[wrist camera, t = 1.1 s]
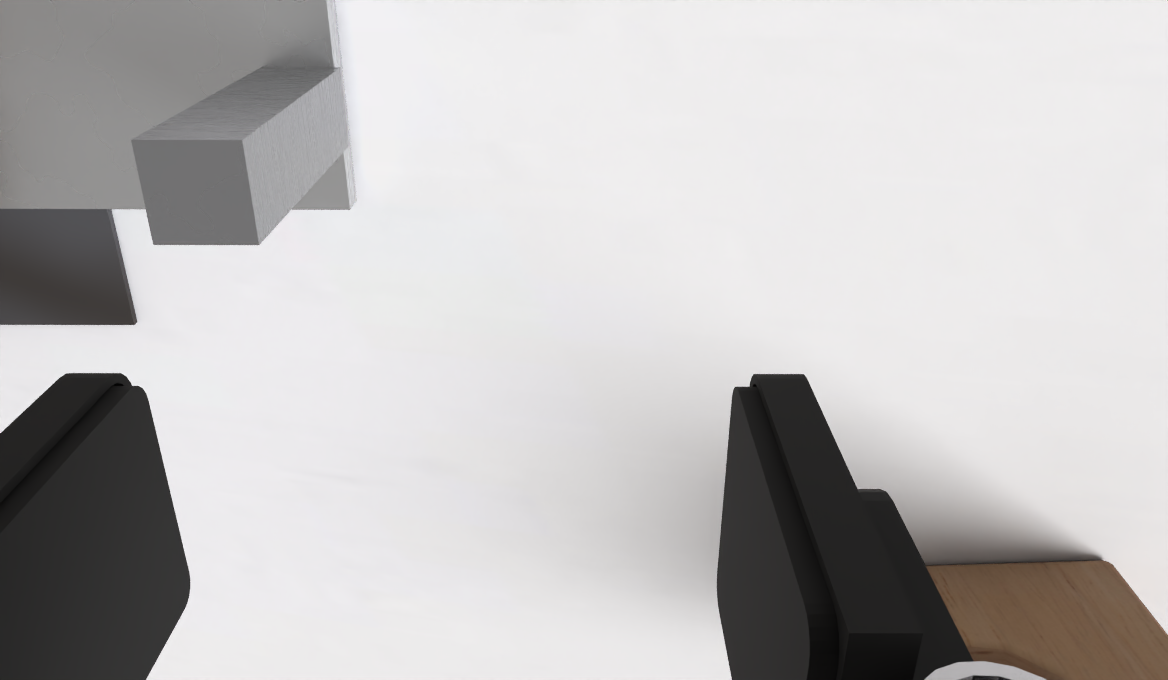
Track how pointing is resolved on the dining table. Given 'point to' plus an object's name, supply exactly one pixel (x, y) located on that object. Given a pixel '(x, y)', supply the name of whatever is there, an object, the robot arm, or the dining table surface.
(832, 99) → the dining table surface
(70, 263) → the tunnel
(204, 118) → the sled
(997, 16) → the dining table surface
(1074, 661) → the wooden block
